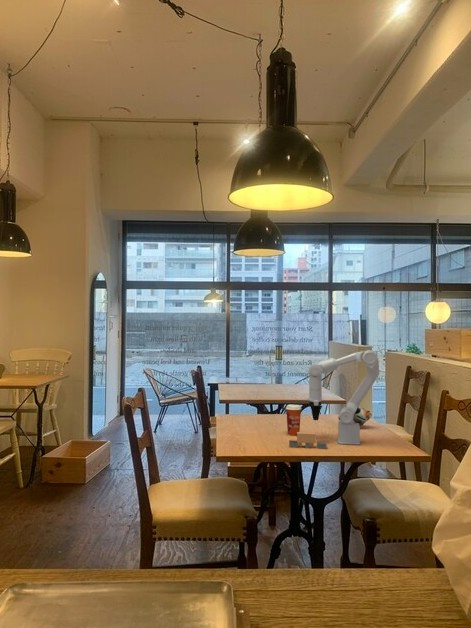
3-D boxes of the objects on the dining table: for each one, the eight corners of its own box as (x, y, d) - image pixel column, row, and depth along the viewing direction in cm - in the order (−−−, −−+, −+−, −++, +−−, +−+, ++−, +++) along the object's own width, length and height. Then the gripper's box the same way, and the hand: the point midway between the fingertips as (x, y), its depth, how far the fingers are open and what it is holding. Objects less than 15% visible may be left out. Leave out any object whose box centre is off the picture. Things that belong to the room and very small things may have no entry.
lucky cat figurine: (360, 423, 239) (370, 402, 234) (366, 437, 228) (377, 415, 223) (335, 416, 237) (345, 395, 232) (339, 429, 226) (350, 407, 221)
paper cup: (289, 436, 208) (289, 407, 208) (283, 433, 215) (283, 404, 215) (304, 435, 210) (304, 406, 210) (297, 432, 217) (297, 404, 218)
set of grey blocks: (325, 446, 191) (325, 441, 191) (326, 448, 187) (326, 444, 187) (289, 444, 193) (289, 440, 193) (289, 447, 189) (289, 442, 189)
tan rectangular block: (315, 446, 191) (315, 432, 191) (315, 448, 188) (315, 434, 188) (296, 445, 192) (297, 431, 192) (297, 447, 189) (297, 433, 189)
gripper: (306, 387, 211) (306, 415, 210) (307, 391, 196) (307, 421, 196) (321, 387, 210) (320, 415, 209) (323, 391, 195) (323, 421, 195)
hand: (315, 418), depth 202 cm, fingers open, 7 cm apart
